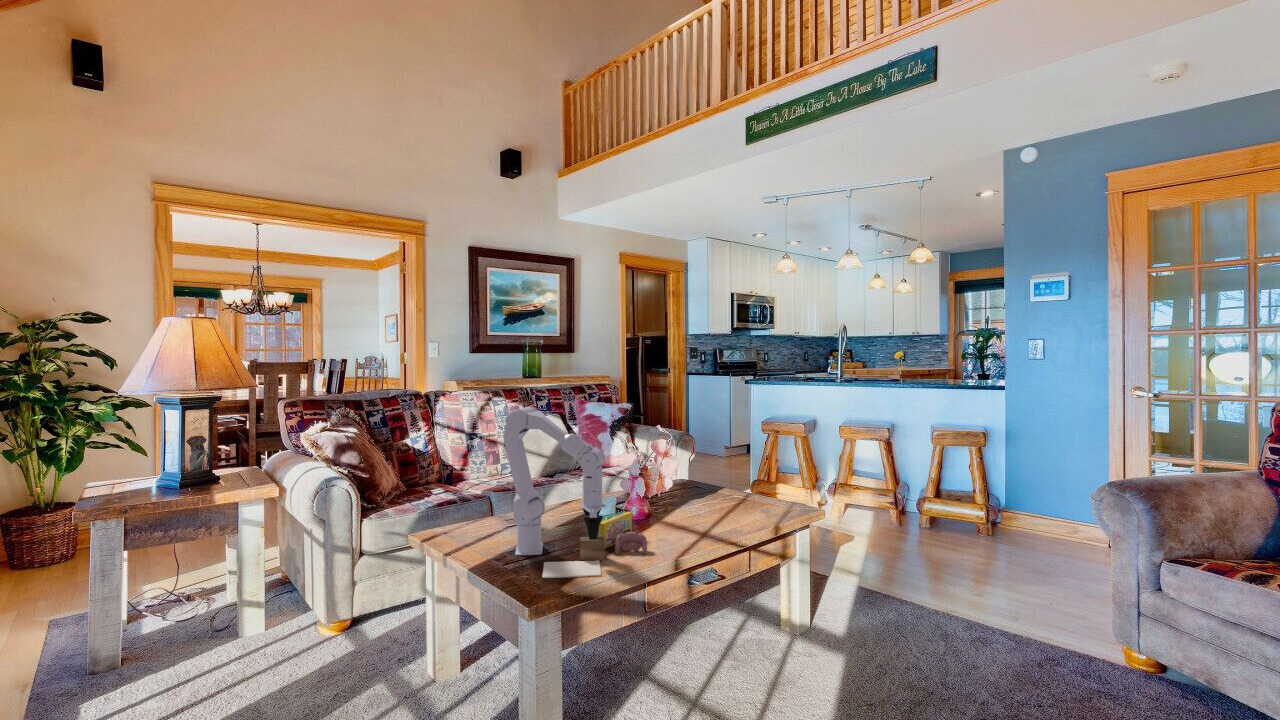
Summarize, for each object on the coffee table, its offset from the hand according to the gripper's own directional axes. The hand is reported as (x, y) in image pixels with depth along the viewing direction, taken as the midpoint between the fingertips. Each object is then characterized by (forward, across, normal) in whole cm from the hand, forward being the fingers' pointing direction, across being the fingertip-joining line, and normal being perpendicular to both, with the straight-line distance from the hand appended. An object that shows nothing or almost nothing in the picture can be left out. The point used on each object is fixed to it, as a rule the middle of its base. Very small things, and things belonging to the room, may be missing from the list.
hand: (592, 535), depth 182 cm
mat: (+7, -8, +6) cm, 13 cm away
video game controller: (+7, +5, -12) cm, 15 cm away
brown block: (+7, 0, 0) cm, 7 cm away
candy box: (+7, +14, -8) cm, 18 cm away
